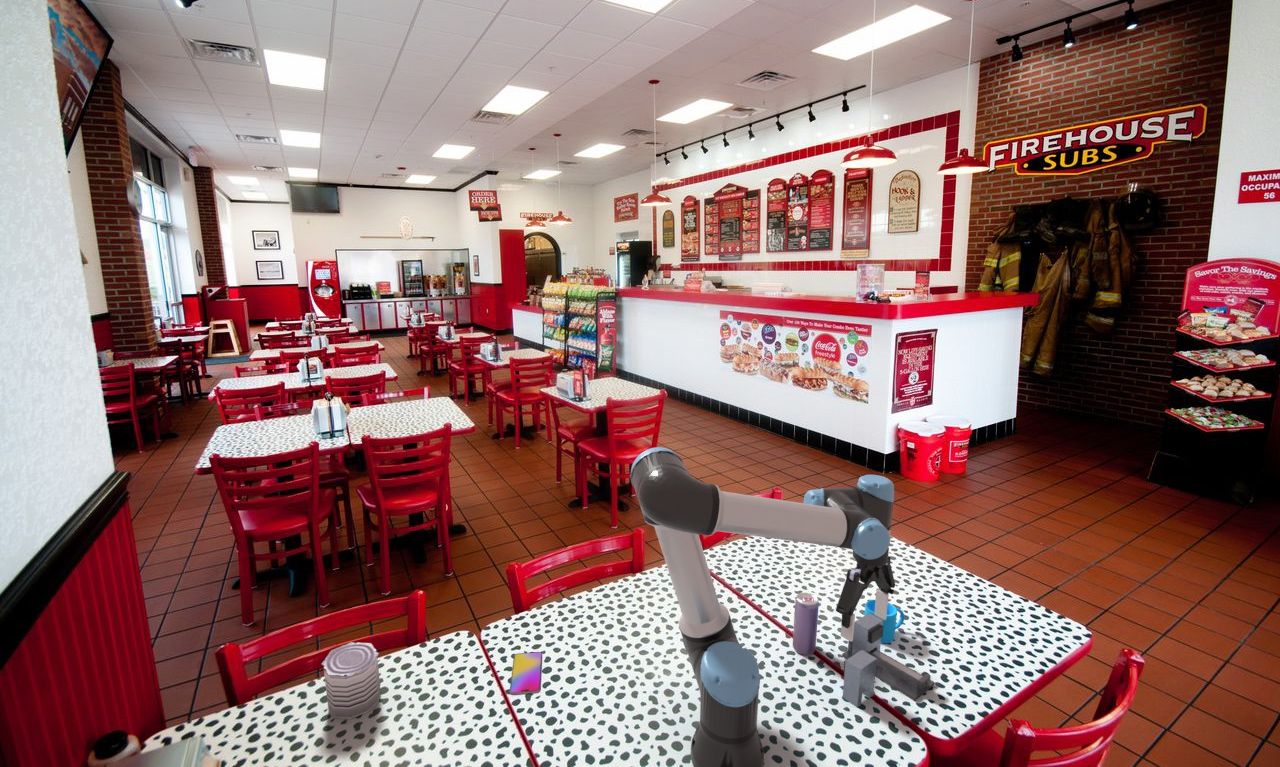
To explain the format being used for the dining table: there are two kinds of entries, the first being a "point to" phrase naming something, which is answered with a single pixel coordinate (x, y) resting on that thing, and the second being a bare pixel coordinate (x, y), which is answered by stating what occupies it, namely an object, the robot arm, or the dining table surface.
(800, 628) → the beverage can
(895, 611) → the mug
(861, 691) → the stepped metal block
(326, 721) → the dining table surface
